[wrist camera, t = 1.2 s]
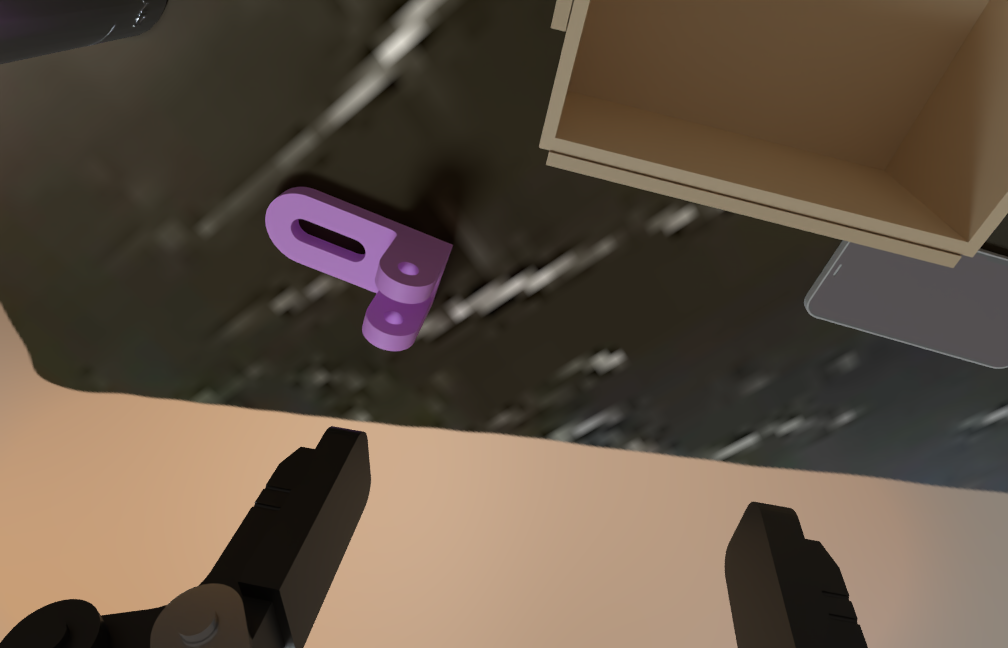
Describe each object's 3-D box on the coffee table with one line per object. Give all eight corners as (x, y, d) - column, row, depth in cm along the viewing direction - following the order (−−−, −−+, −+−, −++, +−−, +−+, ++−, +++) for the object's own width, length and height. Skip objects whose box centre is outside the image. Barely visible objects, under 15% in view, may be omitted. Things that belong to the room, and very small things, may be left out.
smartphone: (1007, 373, 39) (799, 313, 39) (999, 364, 40) (795, 306, 39) (1098, 284, 35) (865, 217, 34) (1087, 277, 35) (859, 211, 35)
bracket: (453, 243, 41) (428, 294, 35) (432, 303, 44) (406, 358, 38) (279, 173, 40) (224, 213, 34) (271, 240, 43) (219, 287, 37)
